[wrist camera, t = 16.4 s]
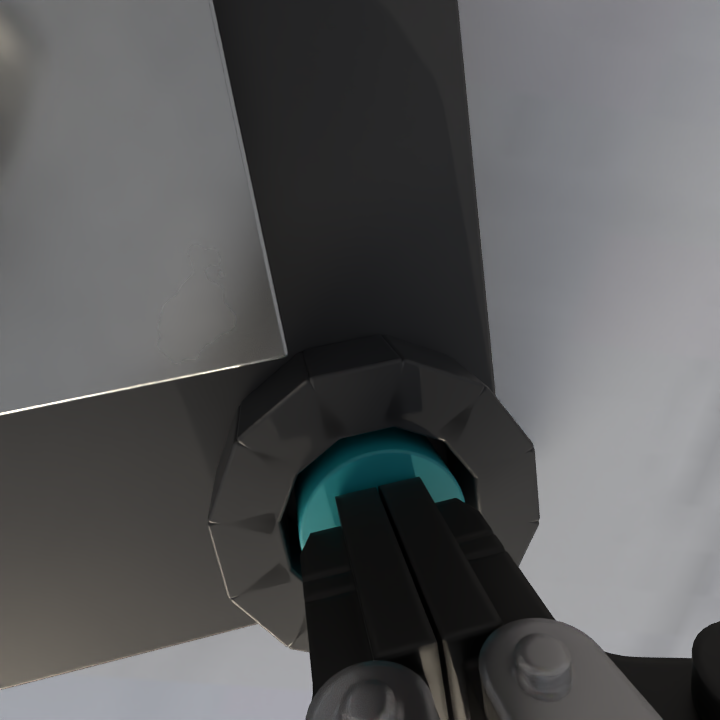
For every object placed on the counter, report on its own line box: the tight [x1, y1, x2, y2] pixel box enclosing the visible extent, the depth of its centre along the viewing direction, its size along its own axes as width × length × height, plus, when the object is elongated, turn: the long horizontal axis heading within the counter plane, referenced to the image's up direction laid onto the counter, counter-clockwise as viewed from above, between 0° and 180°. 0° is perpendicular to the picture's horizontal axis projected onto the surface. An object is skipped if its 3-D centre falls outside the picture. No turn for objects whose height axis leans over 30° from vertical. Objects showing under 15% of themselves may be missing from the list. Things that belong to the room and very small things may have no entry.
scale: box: [0, 0, 540, 690], centre depth 10 cm, size 16×13×4 cm
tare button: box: [294, 427, 465, 550], centre depth 10 cm, size 3×3×2 cm
